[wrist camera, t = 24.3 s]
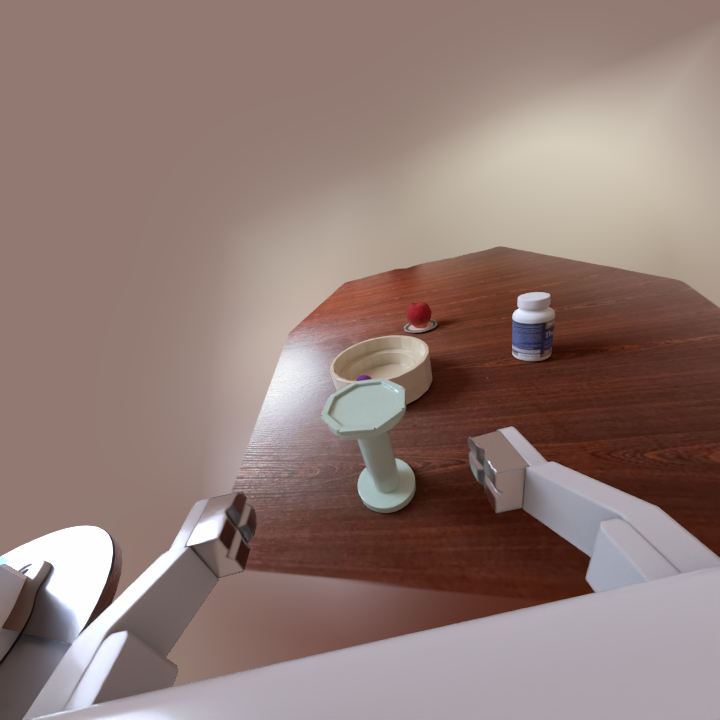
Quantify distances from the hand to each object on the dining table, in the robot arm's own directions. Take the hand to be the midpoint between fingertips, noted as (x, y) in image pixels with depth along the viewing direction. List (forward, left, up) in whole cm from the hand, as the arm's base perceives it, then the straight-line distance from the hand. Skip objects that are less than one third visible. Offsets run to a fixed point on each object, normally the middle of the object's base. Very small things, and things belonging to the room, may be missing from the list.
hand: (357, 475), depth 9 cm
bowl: (-5, +32, -16) cm, 36 cm away
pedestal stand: (-3, +12, -16) cm, 20 cm away
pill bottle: (+19, +36, -16) cm, 44 cm away
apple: (+2, +56, -16) cm, 58 cm away
